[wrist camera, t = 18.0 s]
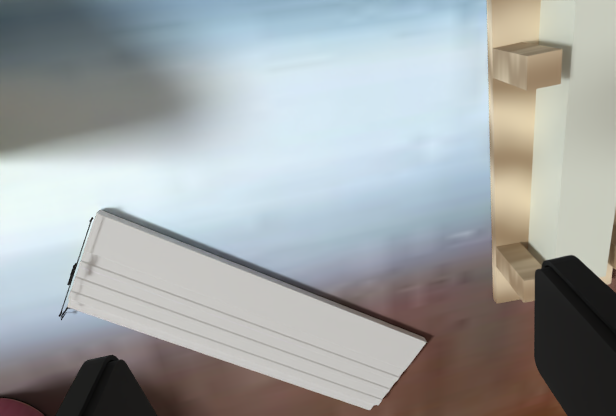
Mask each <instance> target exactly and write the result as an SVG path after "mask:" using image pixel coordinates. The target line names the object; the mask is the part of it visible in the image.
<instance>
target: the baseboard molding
mask: <svg viewBox="0 0 616 416" xmlns="http://www.w3.org/2000/svg"><path fill="white" fill-rule="evenodd" d="M92 219H93V217H92V218H91V220H90V224H91V221H92ZM89 227H90V225H89ZM88 230H89V228H88ZM87 233H88V231H87ZM86 236H87V234H86ZM85 239H86V237H85ZM84 242H85V240H84ZM83 245H84V243H83ZM82 248H83V246H82ZM81 251H82V249H81ZM80 254H81V252H80ZM79 257H80V255H79ZM78 260H79V258H78ZM77 263H78V261H77ZM77 263H75V265H74V266H73V269H72V271H71V274H70V275H71V276H70V279H69V282H68V285H69V284H70V285H71V282H72V279H73V276H74V273H75V270H76V267H77ZM72 275H73V276H72ZM70 285H69V288H70ZM68 291H69V289H68ZM67 294H68V292H67ZM66 297H67V295H66ZM68 299H69V303H68V306H67V308H66V310H67V309H68V308H71V309H74V310H77V311H80V312H83V313H86V314H89V315H92V316H95V317H98V318H101V319H104V320H107V321H109V322H112V323H115V324H118V325H121V326H124V327H127V328H130V329H133V330H136V331H139V332H142V333H145V334H148V335H150V336H153V337H156V338H159V339H162V340H165V341H168V342H171V343H174V344H177V345H180V346H183V347H186V348H189V349H191V350H194V351H197V352H200V353H203V354H206V355H209V356H212V357H215V358H218V359H221V360H224V361H227V362H230V363H233V364H235V365H238V366H241V367H244V368H247V369H250V370H253V371H256V372H259V373H262V374H265V375H268V376H271V377H274V378H276V379H279V380H282V381H285V382H288V383H291V384H294V385H297V386H300V387H303V388H306V389H309V390H312V391H315V392H318V393H320V394H323V395H326V396H329V397H332V398H335V399H338V400H341V401H344V402H347V403H350V404H353V405H356V406H359V407H361V408H364V409H367V410H371V408H372V407H373V406H374V405H379V404H380V402H381V401H382V399H383V398H384V396H385V395H386V394H387V393H388V392H389V391H390V388H391V387H392V386H393V385H394V383H395V382H396V381H397V380H398V379H399V377H400V375H401V374H402V373H403V371H404V370H406V369H407V367H408V366H409V365H410V363H411V362H412V361H413V359H414V358H415V357H416V355H417V354H418V353H419V352H420V350H421V349H422V348H423V346H424V345H425V344H426V340H425V338H424V337H422V336H420V335H417V334H415V333H412V332H409V331H407V330H404V329H402V328H399V327H397V326H394V325H392V324H389V323H387V322H384V321H382V320H379V319H376V318H374V317H371V316H369V315H366V314H364V313H361V312H359V311H356V310H354V309H351V308H349V307H346V306H343V305H341V304H338V303H336V302H333V301H331V300H328V299H326V298H323V297H321V296H318V295H316V294H313V293H311V292H308V291H305V290H303V289H300V288H298V287H295V286H293V285H290V284H288V283H285V282H283V281H280V280H278V279H275V278H272V277H270V276H267V275H265V274H262V273H260V272H257V271H255V270H252V269H250V268H247V267H245V266H242V265H239V264H237V263H234V262H232V261H229V260H227V259H224V258H222V257H219V256H217V255H214V254H212V253H209V252H206V251H204V250H201V249H199V248H196V247H194V246H191V245H189V244H186V243H184V242H181V241H179V240H176V239H173V238H171V237H168V236H166V235H163V234H161V233H158V232H156V231H153V230H151V229H148V228H146V227H143V226H141V225H138V224H135V223H133V222H130V221H128V220H125V219H123V218H120V217H118V216H115V215H113V214H110V213H108V212H105V211H102V210H99V211H98V212H97V213H96V216H95V219H94V222H93V225H92V228H91V231H90V234H89V237H88V240H87V243H86V246H85V249H84V253H83V256H82V259H81V262H80V264H79V268H78V271H77V274H76V277H75V280H74V283H73V286H72V289H71V292H70V295H69V298H68ZM65 300H66V298H65ZM64 303H65V301H64ZM63 306H64V304H63ZM62 309H63V307H62ZM66 310H65V311H64V312H63V314H62V310H61V313H60V315H59V317H60V316H61V317H62V318H63V317H64V316H63V315H65V314H66V313H67V312H66ZM65 312H66V313H65ZM64 313H65V314H64ZM61 314H62V315H61ZM62 318H61V320H62Z"/></svg>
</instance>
